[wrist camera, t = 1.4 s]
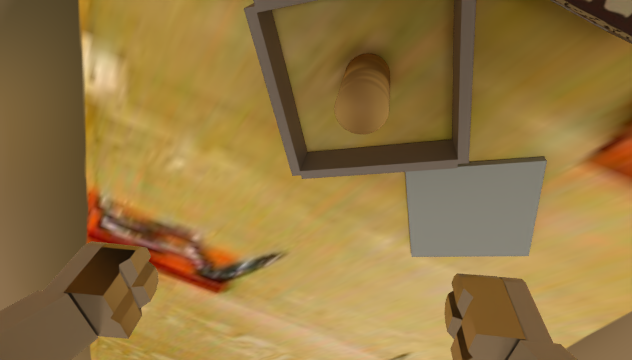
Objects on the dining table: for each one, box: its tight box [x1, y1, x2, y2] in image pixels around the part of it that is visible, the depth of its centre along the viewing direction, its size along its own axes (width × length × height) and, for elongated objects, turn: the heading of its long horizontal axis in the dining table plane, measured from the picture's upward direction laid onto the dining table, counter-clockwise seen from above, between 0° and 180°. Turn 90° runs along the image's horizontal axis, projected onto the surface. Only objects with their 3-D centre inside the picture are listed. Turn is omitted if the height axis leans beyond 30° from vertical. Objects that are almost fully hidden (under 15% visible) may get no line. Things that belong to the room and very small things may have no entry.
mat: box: [405, 157, 547, 257], centre depth 41 cm, size 14×14×1 cm
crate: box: [244, 0, 476, 179], centre depth 33 cm, size 18×18×4 cm
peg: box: [335, 54, 390, 134], centre depth 31 cm, size 4×4×8 cm
